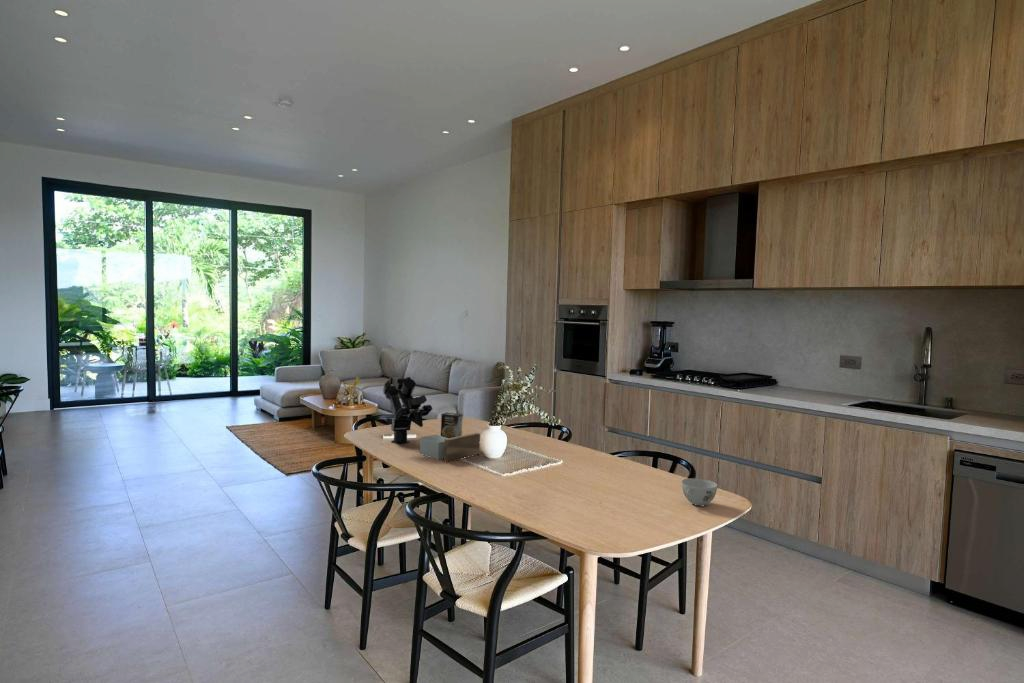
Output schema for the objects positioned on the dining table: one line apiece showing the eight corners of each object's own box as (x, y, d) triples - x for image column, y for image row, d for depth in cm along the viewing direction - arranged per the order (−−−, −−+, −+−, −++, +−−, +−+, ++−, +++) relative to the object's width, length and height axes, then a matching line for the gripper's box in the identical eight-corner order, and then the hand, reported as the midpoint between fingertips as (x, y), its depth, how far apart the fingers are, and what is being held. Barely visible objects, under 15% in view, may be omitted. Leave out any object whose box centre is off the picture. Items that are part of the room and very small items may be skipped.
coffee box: (439, 446, 276) (440, 414, 275) (444, 443, 282) (446, 411, 282) (456, 448, 274) (457, 415, 273) (461, 445, 280) (462, 413, 279)
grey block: (419, 454, 261) (420, 437, 260) (435, 451, 267) (435, 434, 267) (437, 460, 252) (438, 442, 251) (453, 456, 258) (453, 439, 258)
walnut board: (443, 461, 250) (444, 439, 249) (475, 453, 265) (476, 432, 264) (447, 462, 248) (448, 440, 247) (479, 454, 263) (480, 433, 263)
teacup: (691, 496, 215) (692, 475, 214) (722, 505, 205) (724, 483, 205) (670, 504, 204) (671, 482, 204) (702, 514, 195) (703, 491, 195)
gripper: (399, 391, 261) (414, 418, 255) (430, 388, 275) (445, 414, 269) (389, 405, 267) (403, 433, 260) (419, 402, 281) (433, 427, 274)
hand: (421, 426), depth 266 cm, fingers closed
